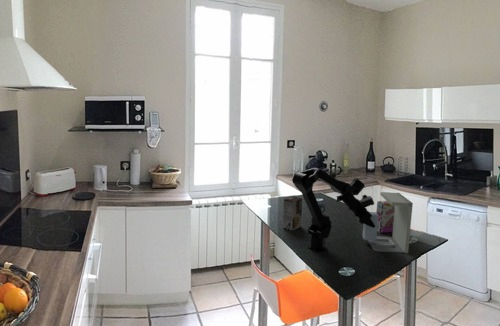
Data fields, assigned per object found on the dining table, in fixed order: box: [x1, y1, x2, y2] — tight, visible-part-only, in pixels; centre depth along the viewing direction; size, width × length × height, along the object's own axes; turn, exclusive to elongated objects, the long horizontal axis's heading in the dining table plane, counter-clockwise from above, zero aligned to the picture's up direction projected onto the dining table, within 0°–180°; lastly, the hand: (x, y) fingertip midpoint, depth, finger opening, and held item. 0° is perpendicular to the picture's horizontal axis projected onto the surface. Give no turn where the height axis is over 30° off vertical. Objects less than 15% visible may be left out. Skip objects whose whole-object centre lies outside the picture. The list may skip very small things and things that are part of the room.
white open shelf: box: [367, 191, 414, 254], centre depth 177 cm, size 15×20×24 cm
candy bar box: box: [376, 200, 395, 234], centre depth 196 cm, size 11×5×16 cm, turn 108°
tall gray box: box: [362, 211, 378, 241], centre depth 178 cm, size 6×5×12 cm
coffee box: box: [282, 196, 303, 231], centre depth 199 cm, size 9×6×16 cm
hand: (373, 225), depth 178 cm, fingers closed on tall gray box, 5 cm apart
